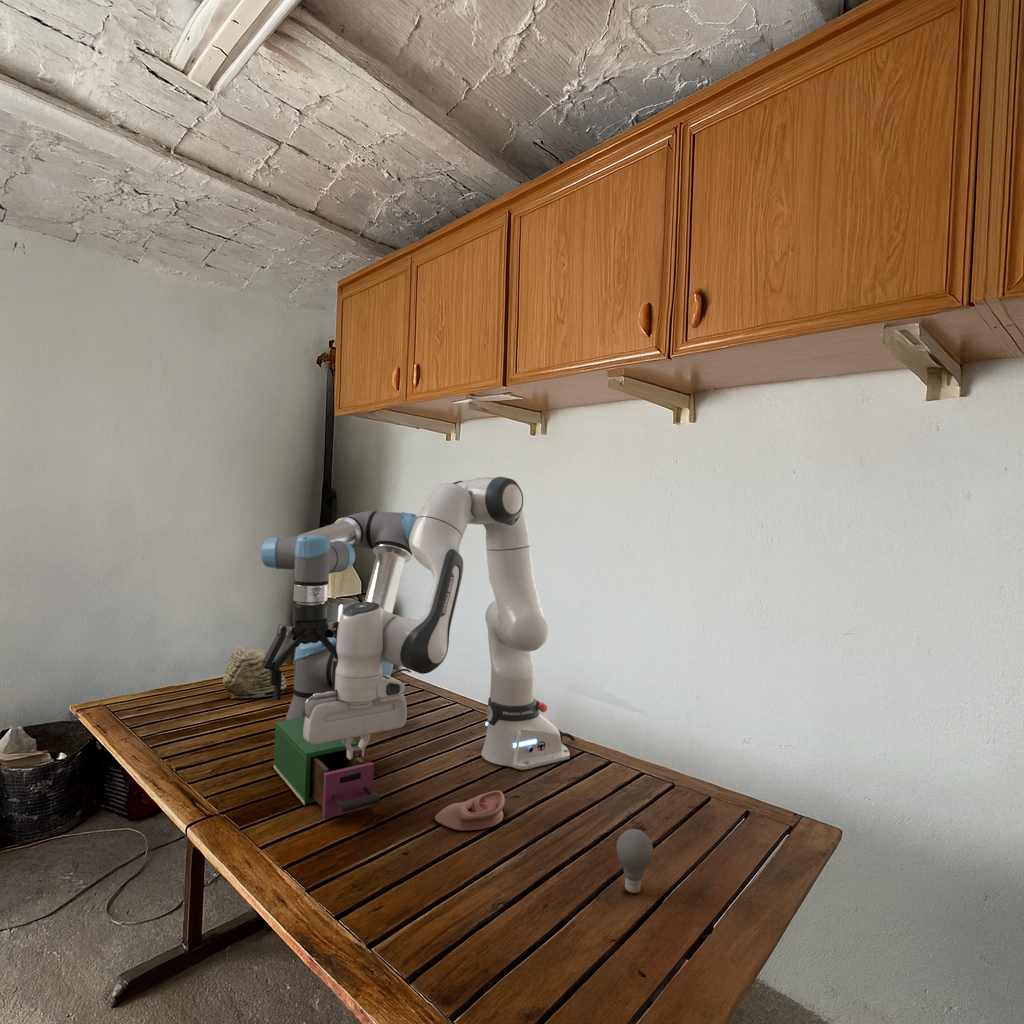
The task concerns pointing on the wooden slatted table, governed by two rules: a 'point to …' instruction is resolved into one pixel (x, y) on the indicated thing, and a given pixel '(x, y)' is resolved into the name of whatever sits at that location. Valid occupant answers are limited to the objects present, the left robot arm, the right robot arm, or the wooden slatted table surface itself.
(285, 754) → the cabinet
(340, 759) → the drawer
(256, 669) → the fossil
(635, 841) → the light bulb
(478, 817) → the anatomical model
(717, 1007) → the wooden slatted table surface
